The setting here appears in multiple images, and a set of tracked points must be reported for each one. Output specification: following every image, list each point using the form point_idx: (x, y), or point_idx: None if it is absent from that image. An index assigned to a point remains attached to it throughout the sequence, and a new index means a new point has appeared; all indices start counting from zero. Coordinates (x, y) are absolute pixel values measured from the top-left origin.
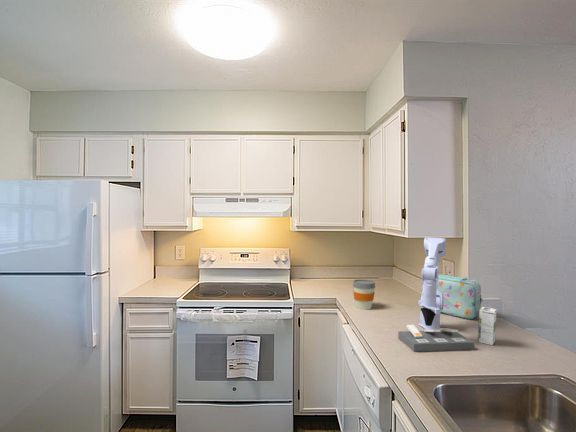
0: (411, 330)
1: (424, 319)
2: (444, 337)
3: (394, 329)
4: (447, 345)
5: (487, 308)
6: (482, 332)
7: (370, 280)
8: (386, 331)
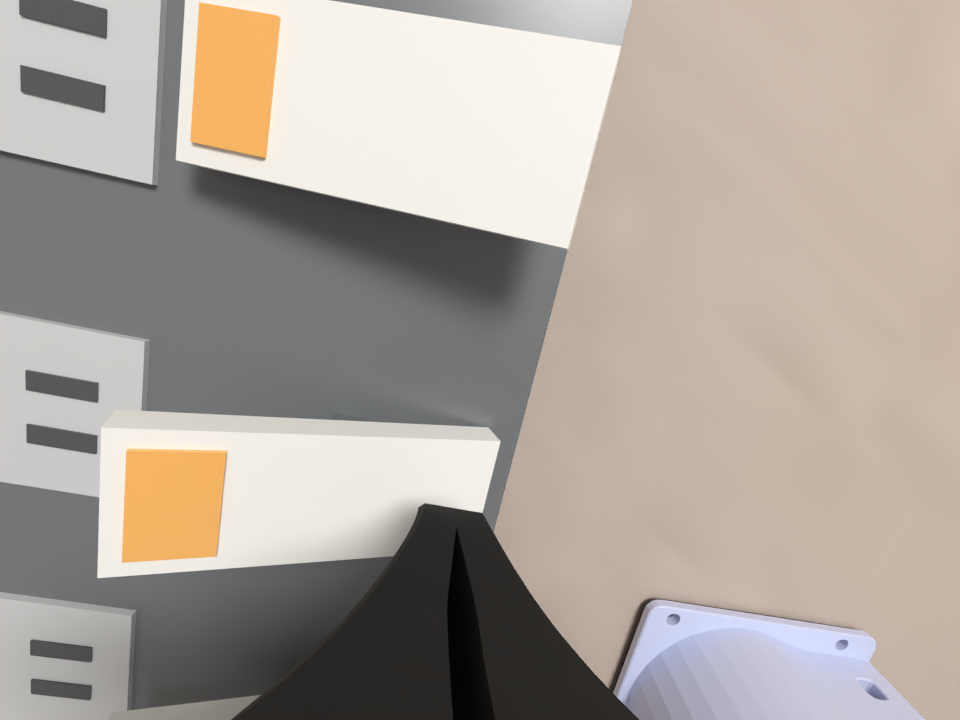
0: (379, 19)
1: (507, 573)
2: None
3: (901, 216)
4: None
5: None
6: None
7: None
8: (907, 19)
